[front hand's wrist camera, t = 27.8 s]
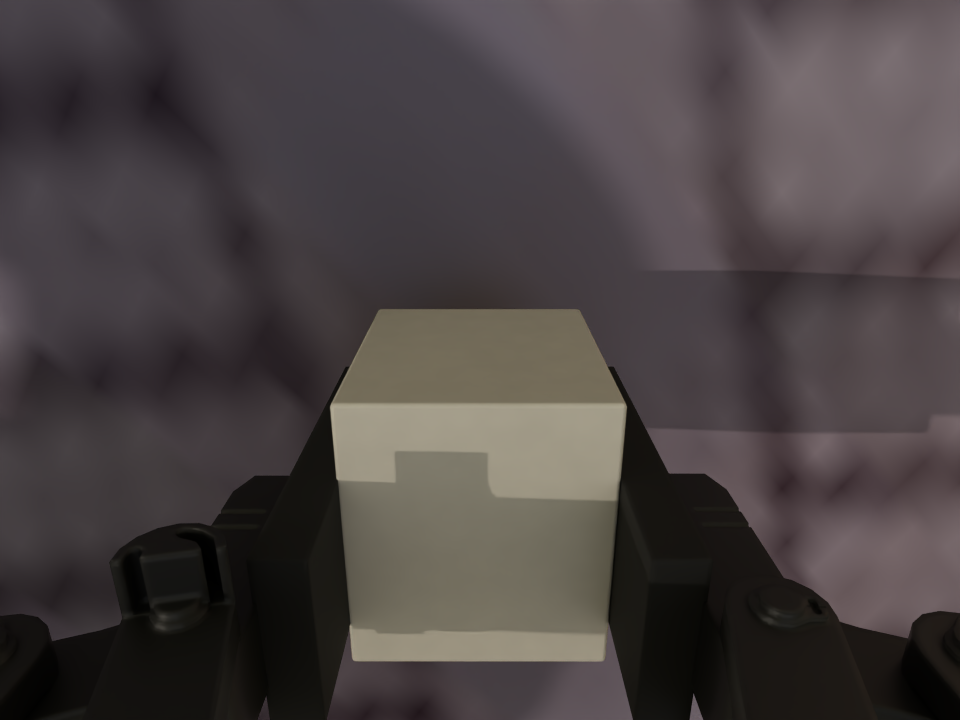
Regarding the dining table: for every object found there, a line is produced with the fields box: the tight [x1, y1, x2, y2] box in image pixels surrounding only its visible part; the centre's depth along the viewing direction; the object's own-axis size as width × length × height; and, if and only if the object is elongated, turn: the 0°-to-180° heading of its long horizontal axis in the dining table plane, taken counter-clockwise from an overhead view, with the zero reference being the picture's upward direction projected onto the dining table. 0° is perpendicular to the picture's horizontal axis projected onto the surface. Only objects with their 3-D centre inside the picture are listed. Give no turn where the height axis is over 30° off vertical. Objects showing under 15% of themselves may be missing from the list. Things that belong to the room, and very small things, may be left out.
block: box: [330, 309, 627, 661], centre depth 13 cm, size 4×5×5 cm
